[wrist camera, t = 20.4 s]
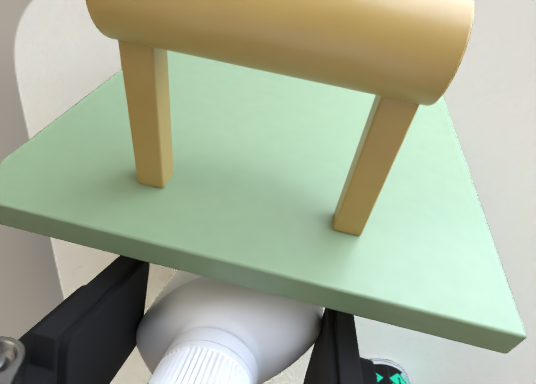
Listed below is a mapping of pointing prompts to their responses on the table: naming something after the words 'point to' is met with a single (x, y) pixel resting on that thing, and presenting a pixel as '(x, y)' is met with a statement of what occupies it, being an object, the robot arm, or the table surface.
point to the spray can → (389, 372)
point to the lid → (280, 159)
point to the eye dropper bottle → (223, 332)
